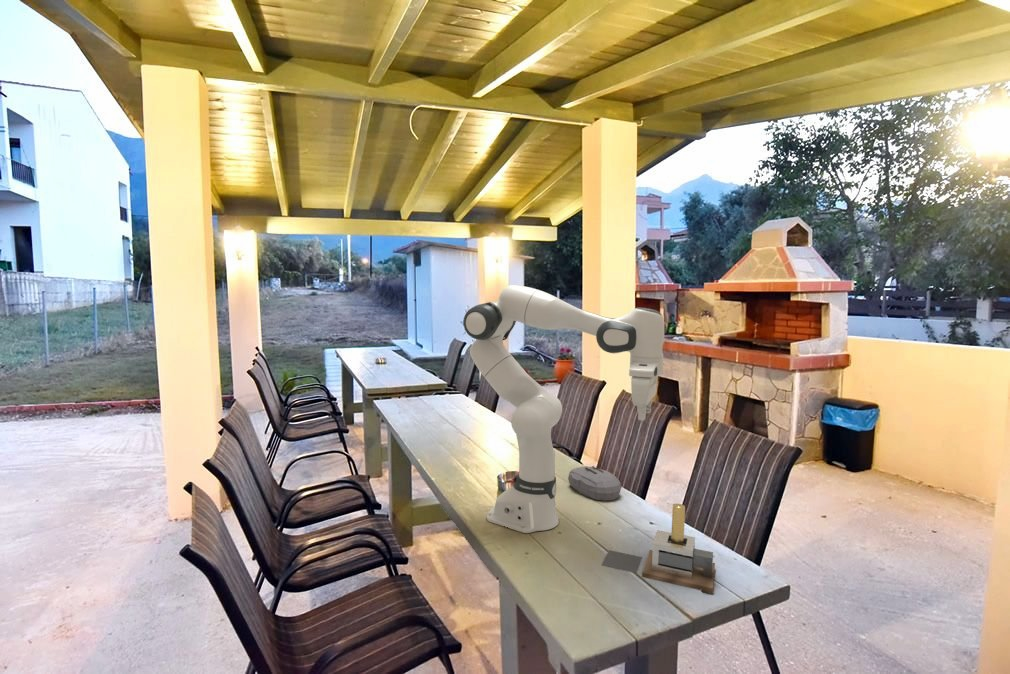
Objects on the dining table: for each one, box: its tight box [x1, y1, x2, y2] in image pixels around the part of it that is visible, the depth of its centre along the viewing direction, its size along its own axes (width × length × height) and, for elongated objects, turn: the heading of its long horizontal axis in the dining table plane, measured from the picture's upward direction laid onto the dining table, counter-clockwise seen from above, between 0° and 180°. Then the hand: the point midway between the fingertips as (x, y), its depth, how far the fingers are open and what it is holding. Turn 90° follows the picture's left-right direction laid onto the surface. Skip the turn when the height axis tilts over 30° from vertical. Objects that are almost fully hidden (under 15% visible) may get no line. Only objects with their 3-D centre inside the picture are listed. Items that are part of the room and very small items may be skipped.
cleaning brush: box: [567, 465, 622, 501], centre depth 188 cm, size 15×8×20 cm
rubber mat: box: [601, 549, 643, 574], centre depth 138 cm, size 9×9×1 cm
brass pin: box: [670, 503, 686, 546], centre depth 133 cm, size 3×3×16 cm
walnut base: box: [641, 549, 716, 595], centre depth 133 cm, size 16×13×2 cm
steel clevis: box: [652, 529, 714, 578], centre depth 133 cm, size 14×8×7 cm, turn 66°
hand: (644, 416), depth 145 cm, fingers open, 8 cm apart
